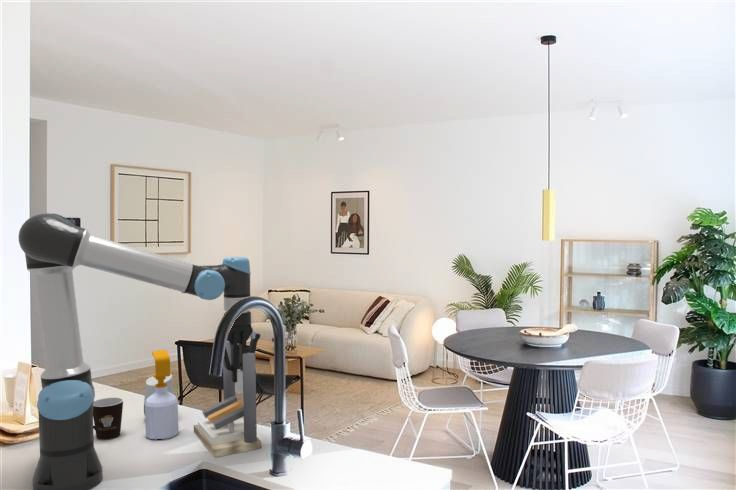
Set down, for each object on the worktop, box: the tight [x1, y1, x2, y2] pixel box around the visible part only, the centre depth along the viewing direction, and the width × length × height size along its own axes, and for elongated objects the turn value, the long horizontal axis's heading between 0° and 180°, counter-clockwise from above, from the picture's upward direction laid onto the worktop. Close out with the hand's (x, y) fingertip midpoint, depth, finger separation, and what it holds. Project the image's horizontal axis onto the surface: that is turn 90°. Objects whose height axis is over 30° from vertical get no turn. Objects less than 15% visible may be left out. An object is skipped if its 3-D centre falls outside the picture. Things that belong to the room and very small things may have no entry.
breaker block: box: [197, 417, 244, 445], centre depth 174 cm, size 12×15×5 cm
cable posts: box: [222, 340, 258, 443], centre depth 176 cm, size 3×22×24 cm, turn 29°
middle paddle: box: [206, 400, 244, 424], centre depth 174 cm, size 10×2×2 cm, turn 119°
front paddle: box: [212, 407, 244, 430], centre depth 169 cm, size 10×2×2 cm, turn 119°
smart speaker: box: [143, 373, 175, 416], centre depth 192 cm, size 10×9×14 cm
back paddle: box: [202, 395, 238, 419], centre depth 179 cm, size 10×2×2 cm, turn 119°
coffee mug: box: [93, 397, 124, 441], centre depth 178 cm, size 12×9×10 cm
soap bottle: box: [144, 349, 180, 441], centre depth 178 cm, size 9×9×25 cm
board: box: [193, 424, 262, 458], centre depth 175 cm, size 13×22×2 cm, turn 29°
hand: (239, 392), depth 176 cm, fingers closed
